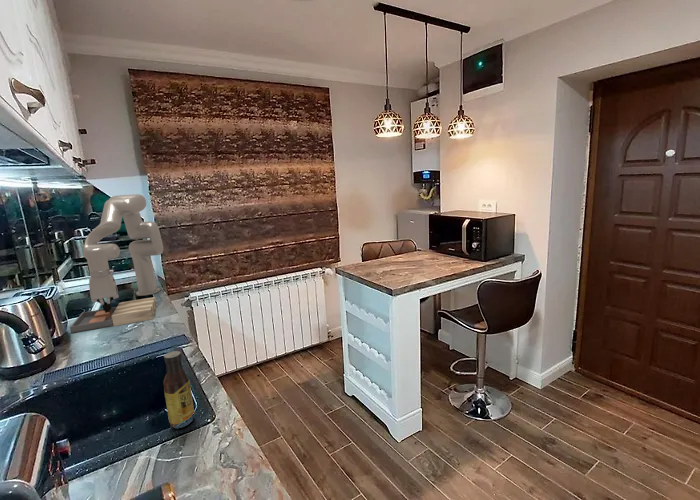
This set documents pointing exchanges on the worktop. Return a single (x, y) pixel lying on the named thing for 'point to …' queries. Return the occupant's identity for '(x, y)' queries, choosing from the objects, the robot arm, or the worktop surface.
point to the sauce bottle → (177, 390)
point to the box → (85, 318)
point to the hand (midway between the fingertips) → (107, 311)
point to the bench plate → (134, 311)
